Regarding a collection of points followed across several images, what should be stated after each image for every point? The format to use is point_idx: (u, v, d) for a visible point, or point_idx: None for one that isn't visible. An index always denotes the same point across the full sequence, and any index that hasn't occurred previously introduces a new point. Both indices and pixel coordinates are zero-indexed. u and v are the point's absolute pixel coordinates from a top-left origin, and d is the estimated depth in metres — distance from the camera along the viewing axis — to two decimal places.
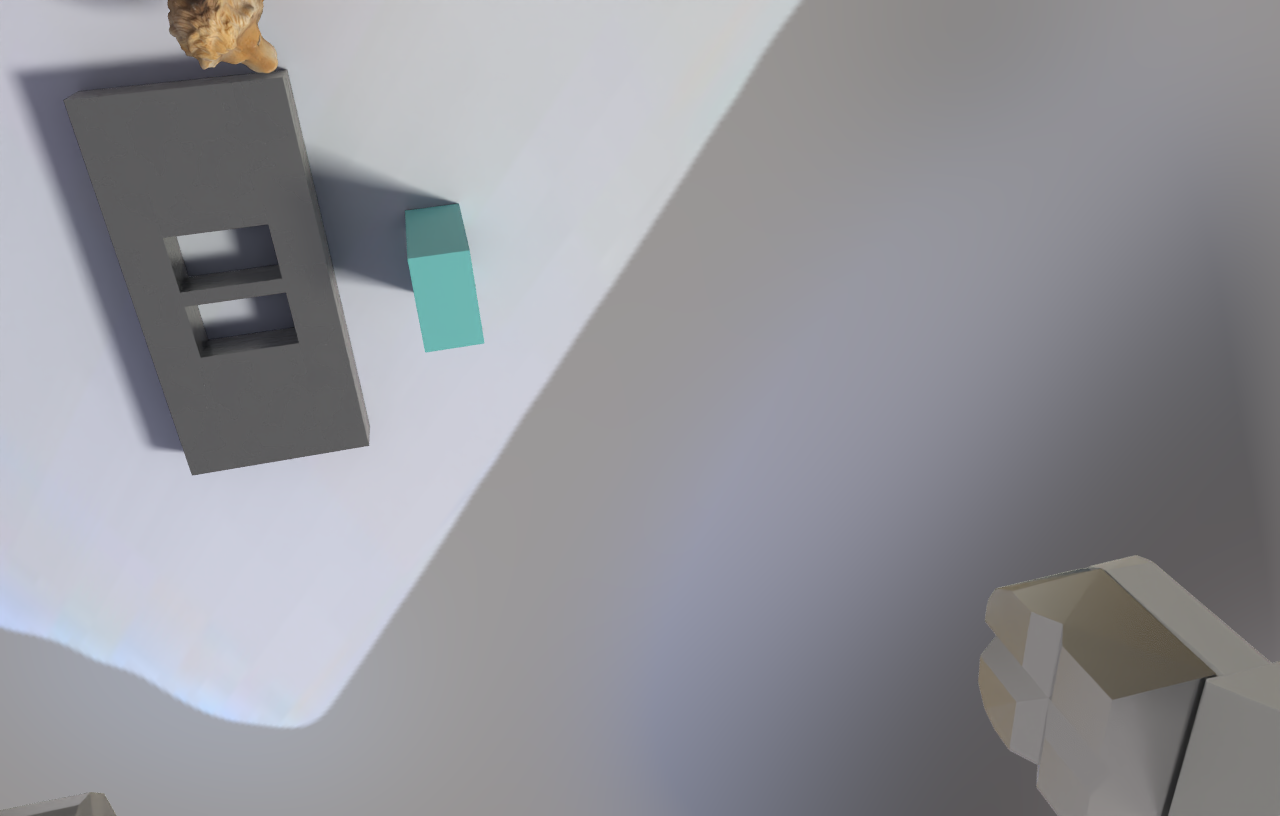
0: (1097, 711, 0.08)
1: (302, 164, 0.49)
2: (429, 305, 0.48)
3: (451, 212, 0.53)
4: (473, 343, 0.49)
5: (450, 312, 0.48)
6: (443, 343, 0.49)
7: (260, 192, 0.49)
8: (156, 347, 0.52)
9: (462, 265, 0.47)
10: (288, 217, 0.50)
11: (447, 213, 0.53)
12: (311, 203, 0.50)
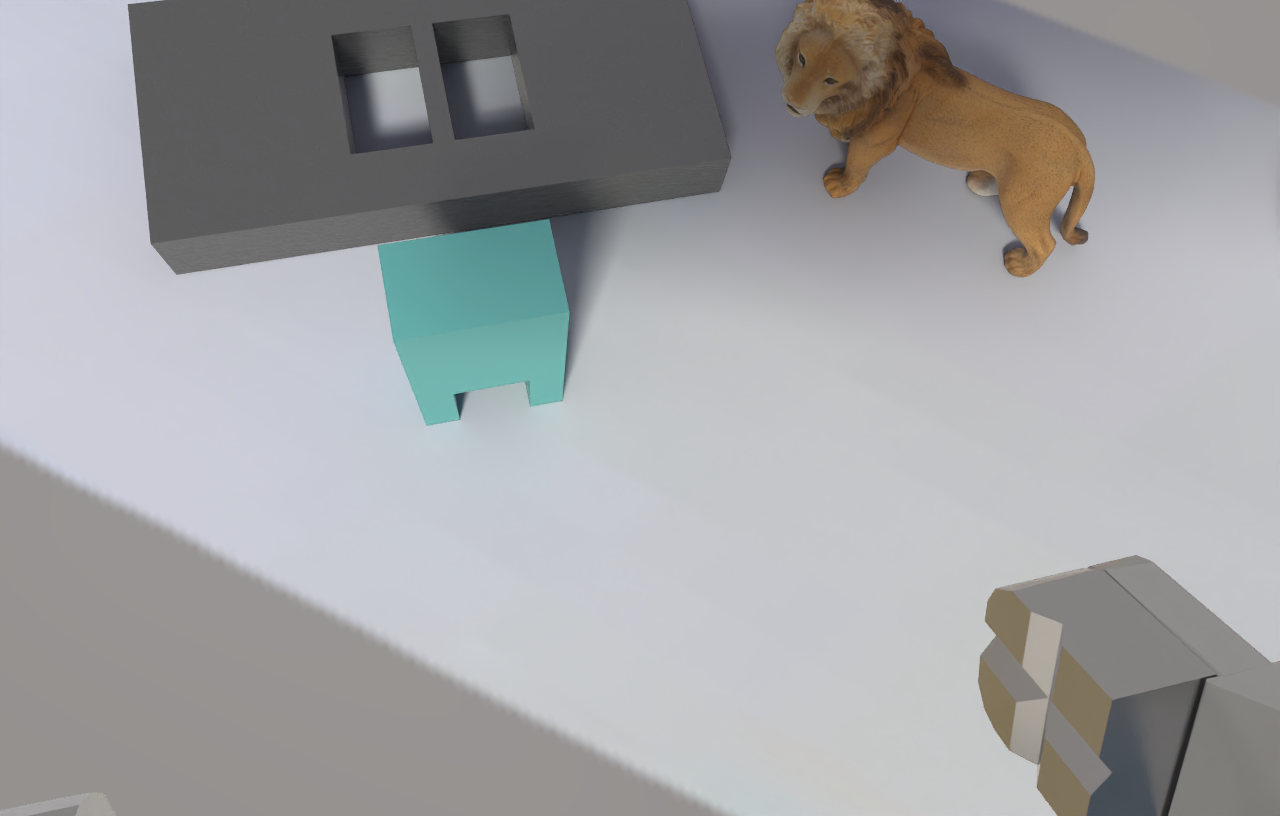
0: (1097, 711, 0.08)
1: (621, 174, 0.36)
2: (467, 251, 0.28)
3: None
4: (393, 323, 0.27)
5: (453, 283, 0.27)
6: (395, 273, 0.27)
7: (579, 123, 0.36)
8: None
9: (541, 302, 0.28)
10: (546, 152, 0.36)
11: None
12: (567, 181, 0.36)
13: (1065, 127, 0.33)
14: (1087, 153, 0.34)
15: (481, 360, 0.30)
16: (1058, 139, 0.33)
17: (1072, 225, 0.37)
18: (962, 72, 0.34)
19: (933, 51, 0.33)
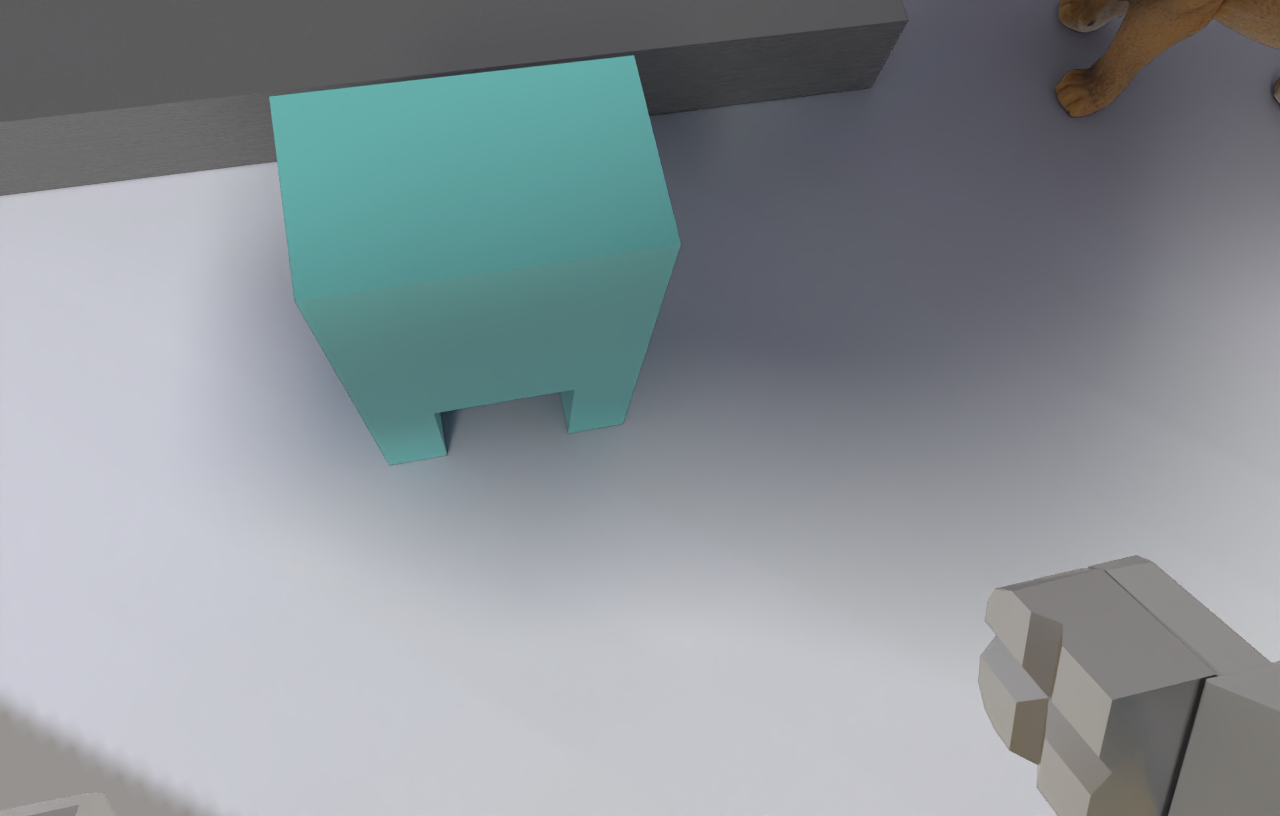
0: (1097, 711, 0.08)
1: (726, 41, 0.21)
2: (463, 113, 0.13)
3: None
4: (296, 261, 0.12)
5: (431, 180, 0.13)
6: (305, 155, 0.13)
7: None
8: None
9: (622, 224, 0.13)
10: (600, 2, 0.21)
11: None
12: (637, 50, 0.21)
13: None
14: None
15: (489, 348, 0.15)
16: None
17: None
18: None
19: None
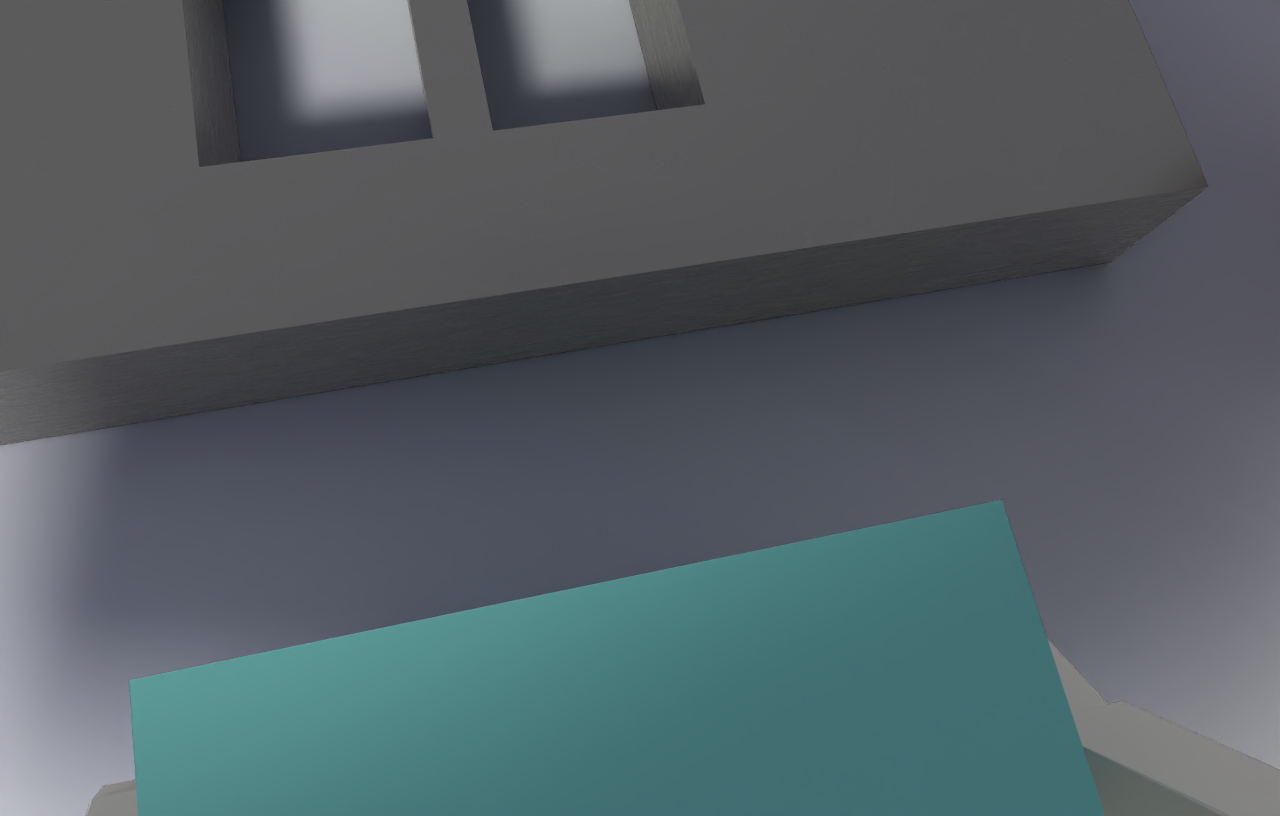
0: None
1: (936, 227, 0.13)
2: (621, 697, 0.05)
3: None
4: None
5: None
6: None
7: (818, 91, 0.14)
8: None
9: None
10: (738, 168, 0.13)
11: None
12: (800, 247, 0.13)
13: None
14: None
15: None
16: None
17: None
18: None
19: None
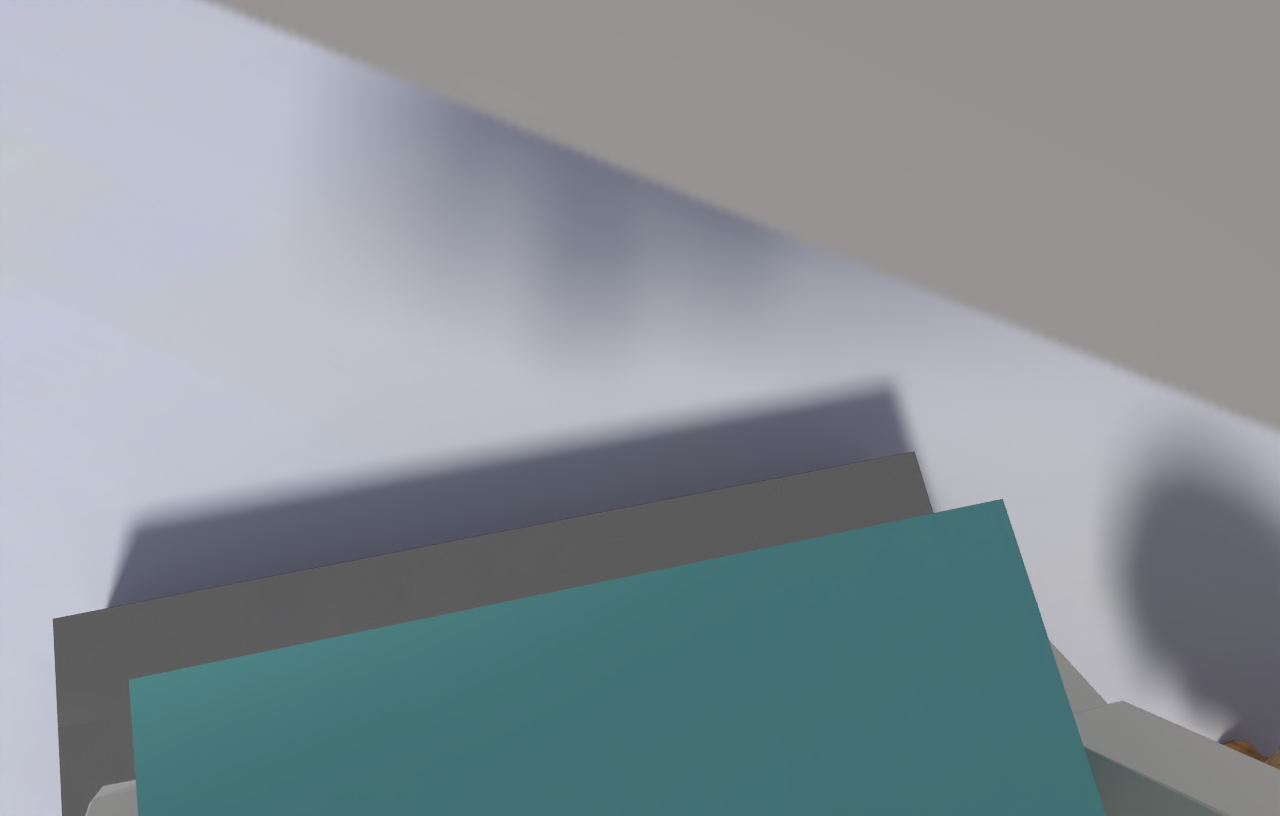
0: None
1: None
2: (621, 696, 0.05)
3: None
4: None
5: None
6: None
7: None
8: (417, 565, 0.23)
9: None
10: None
11: None
12: None
13: None
14: None
15: None
16: None
17: None
18: None
19: None
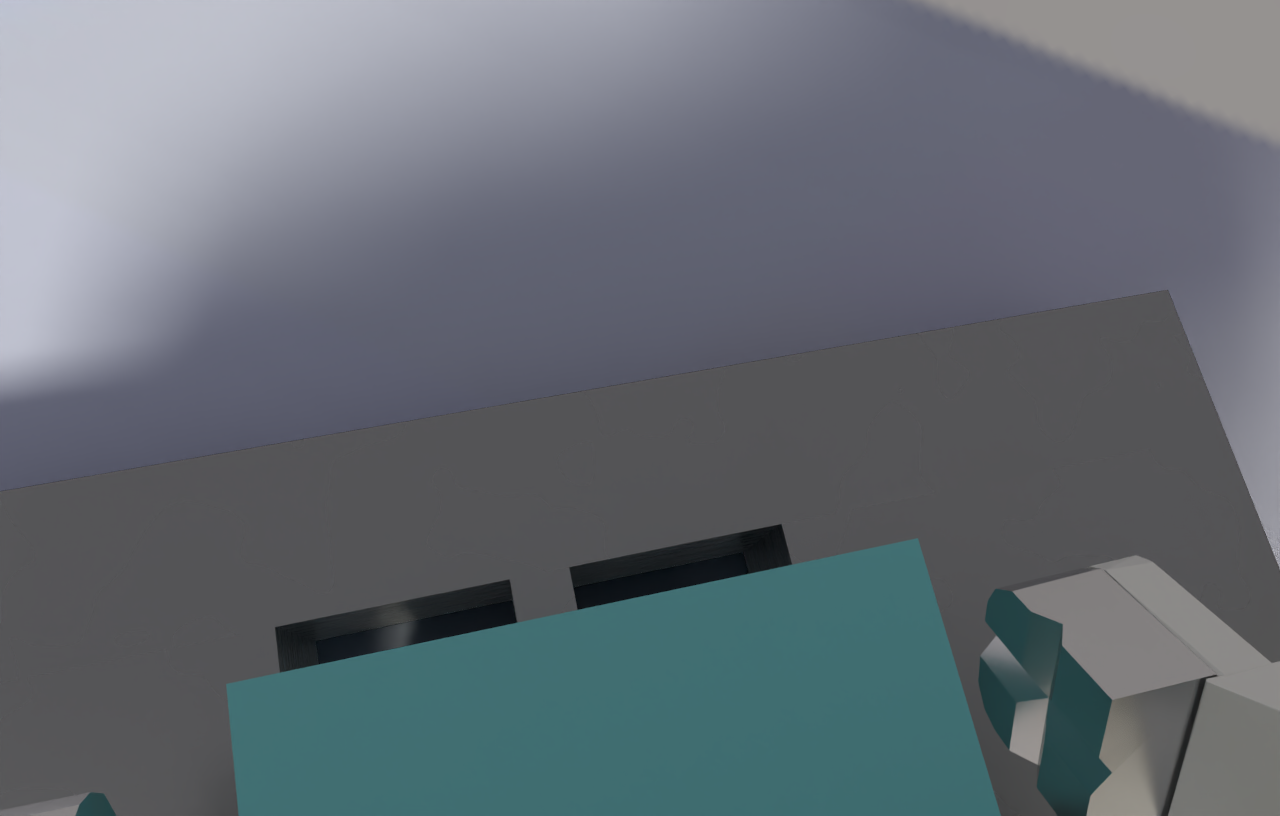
0: (1097, 711, 0.08)
1: None
2: (611, 696, 0.07)
3: None
4: None
5: None
6: None
7: None
8: (332, 463, 0.13)
9: None
10: None
11: None
12: None
13: None
14: None
15: None
16: None
17: None
18: None
19: None
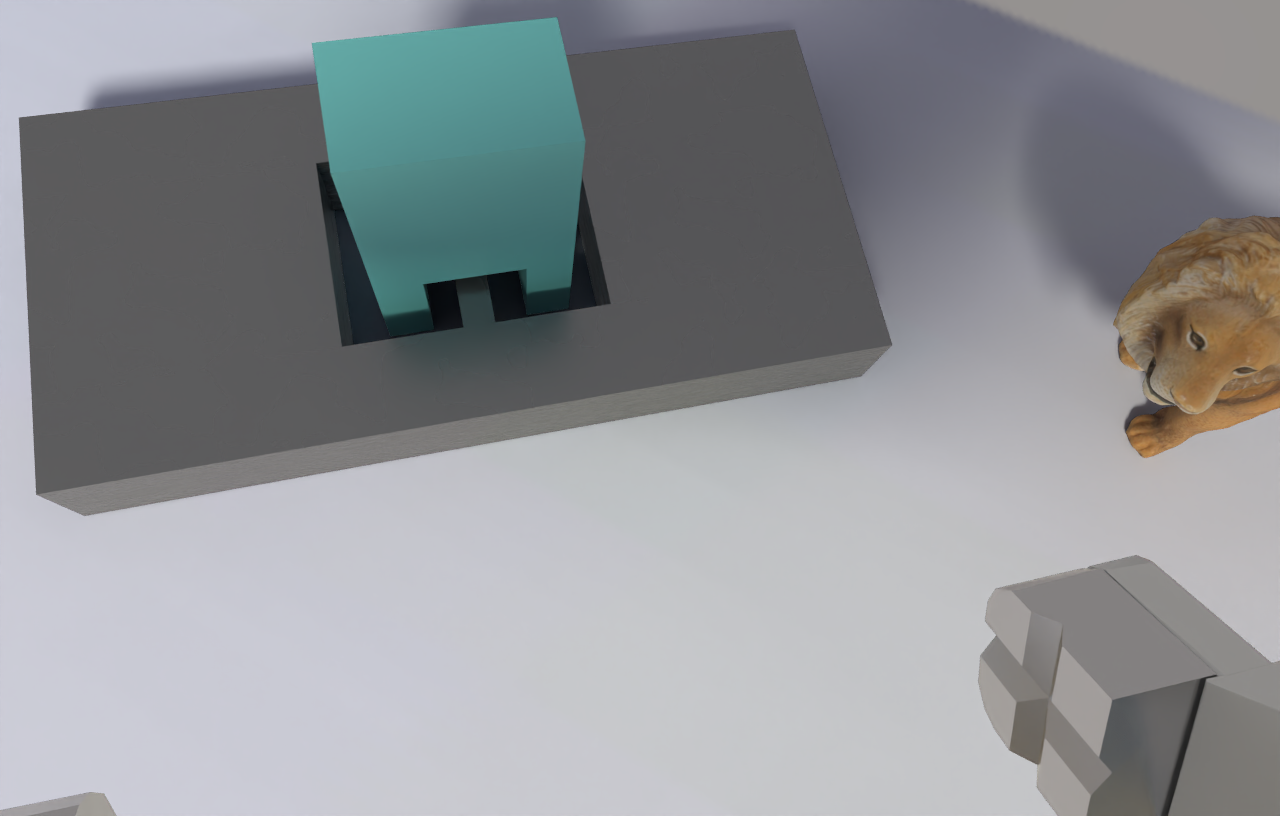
0: (1097, 711, 0.08)
1: (736, 371, 0.25)
2: (441, 55, 0.20)
3: None
4: (331, 148, 0.19)
5: (420, 98, 0.19)
6: (336, 81, 0.19)
7: (674, 294, 0.25)
8: None
9: (546, 126, 0.19)
10: (628, 340, 0.25)
11: None
12: (660, 384, 0.24)
13: None
14: None
15: (461, 223, 0.21)
16: None
17: None
18: None
19: None
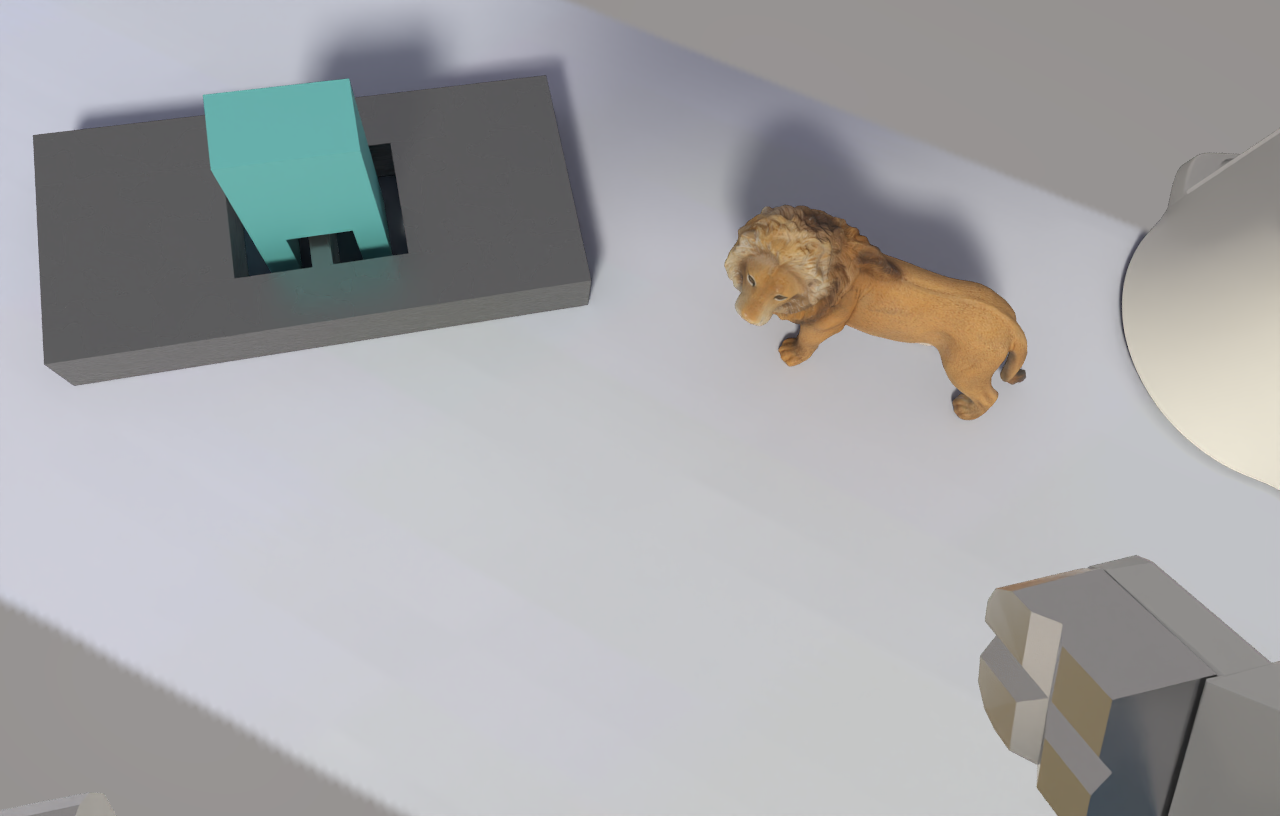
0: (1097, 711, 0.08)
1: (487, 296, 0.39)
2: (278, 101, 0.34)
3: (386, 231, 0.40)
4: (211, 155, 0.33)
5: (264, 126, 0.33)
6: (216, 117, 0.33)
7: (450, 247, 0.39)
8: None
9: (337, 143, 0.34)
10: (417, 276, 0.39)
11: (385, 225, 0.40)
12: (437, 303, 0.39)
13: (996, 309, 0.37)
14: (1018, 328, 0.37)
15: (299, 200, 0.36)
16: (991, 320, 0.36)
17: (1011, 377, 0.40)
18: (897, 263, 0.37)
19: (869, 256, 0.36)
